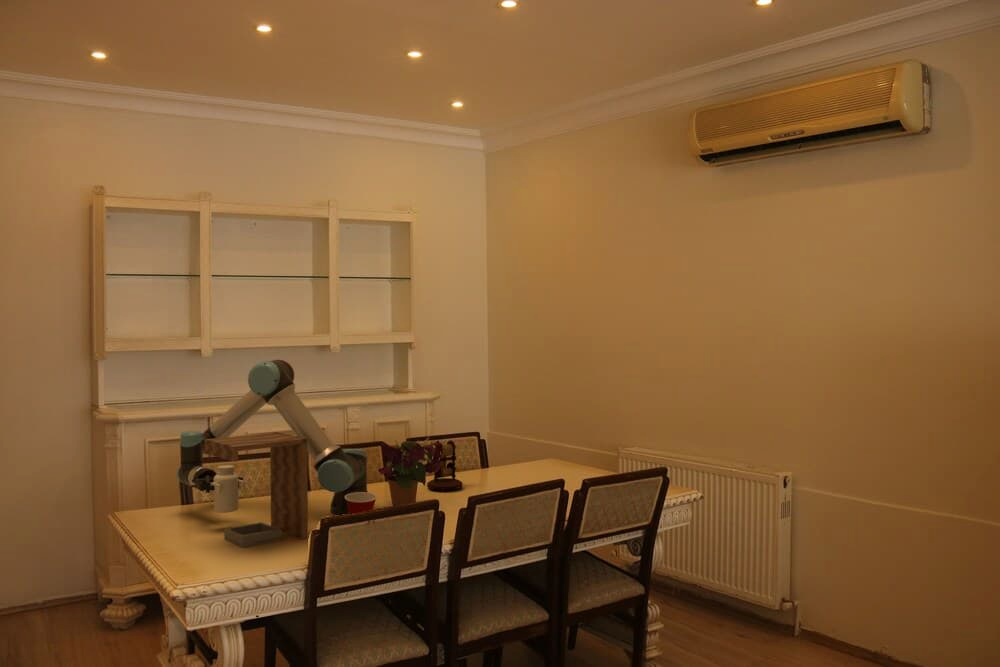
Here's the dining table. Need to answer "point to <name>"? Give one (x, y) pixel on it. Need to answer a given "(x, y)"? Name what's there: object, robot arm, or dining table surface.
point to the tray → (252, 534)
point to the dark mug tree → (446, 470)
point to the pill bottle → (226, 490)
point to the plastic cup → (360, 501)
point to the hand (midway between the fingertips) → (232, 487)
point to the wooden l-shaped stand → (276, 475)
